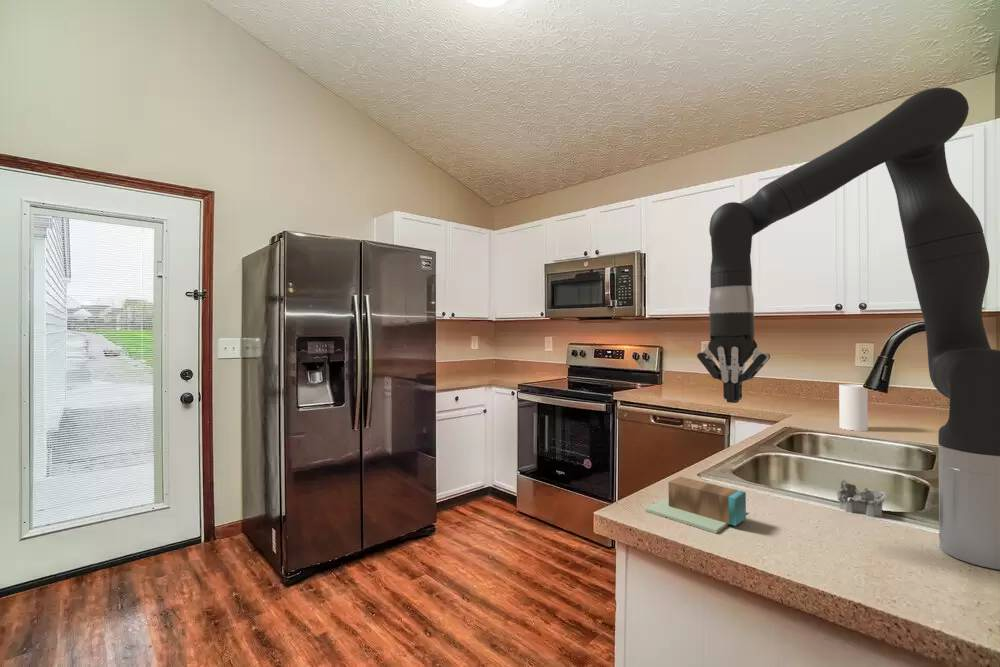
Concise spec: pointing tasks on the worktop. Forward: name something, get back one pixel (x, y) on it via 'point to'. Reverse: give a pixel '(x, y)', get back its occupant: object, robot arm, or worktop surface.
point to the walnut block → (708, 500)
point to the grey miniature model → (860, 500)
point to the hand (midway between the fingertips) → (732, 402)
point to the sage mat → (685, 516)
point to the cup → (853, 407)
